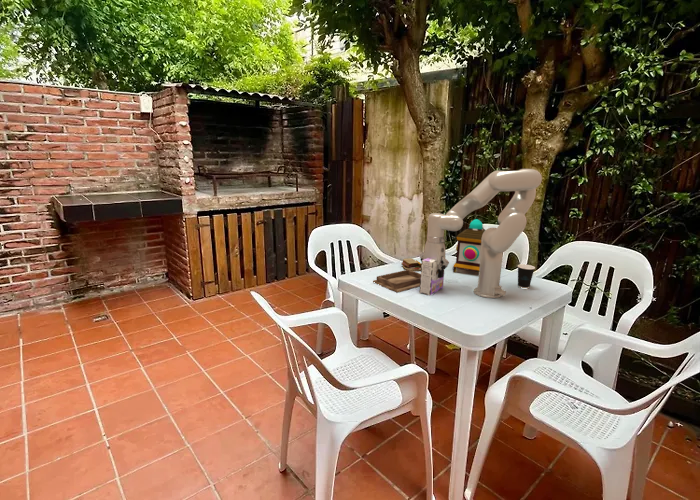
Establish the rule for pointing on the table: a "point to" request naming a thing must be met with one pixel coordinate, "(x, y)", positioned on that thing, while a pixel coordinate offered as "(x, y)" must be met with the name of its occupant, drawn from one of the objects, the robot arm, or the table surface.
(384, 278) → the tray
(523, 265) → the dixie cup
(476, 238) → the decorative lantern
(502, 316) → the table surface
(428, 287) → the candy box
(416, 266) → the toy sandwich meal
